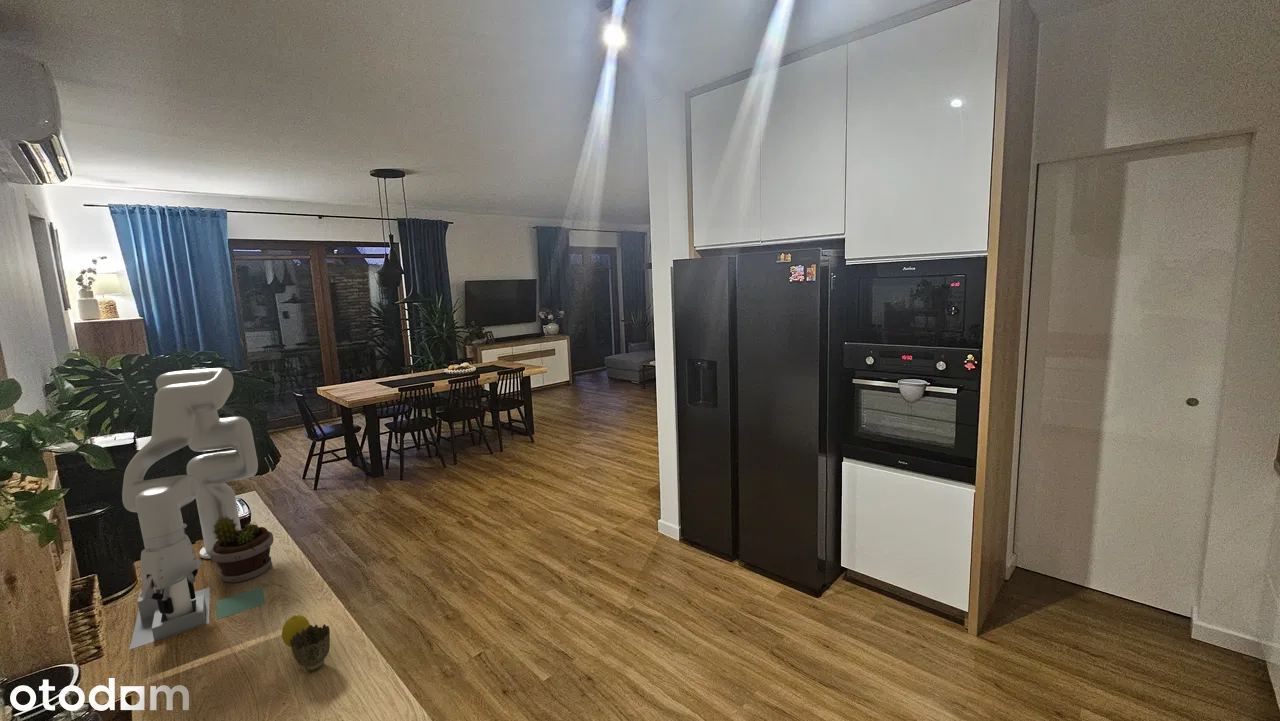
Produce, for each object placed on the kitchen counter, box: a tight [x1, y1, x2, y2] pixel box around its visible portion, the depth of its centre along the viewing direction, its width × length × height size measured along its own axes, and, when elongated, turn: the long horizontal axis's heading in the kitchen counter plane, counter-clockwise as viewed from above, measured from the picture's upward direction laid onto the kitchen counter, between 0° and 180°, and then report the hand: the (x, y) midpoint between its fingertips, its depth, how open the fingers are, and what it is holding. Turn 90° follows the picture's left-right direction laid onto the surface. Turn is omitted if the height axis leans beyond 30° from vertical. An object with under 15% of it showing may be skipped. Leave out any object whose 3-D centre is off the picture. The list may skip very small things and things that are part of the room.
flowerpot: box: [210, 515, 274, 583], centre depth 154 cm, size 14×15×20 cm
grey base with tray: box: [128, 586, 211, 650], centre depth 136 cm, size 20×14×6 cm
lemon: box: [281, 614, 311, 648], centre depth 124 cm, size 6×6×8 cm
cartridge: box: [161, 575, 193, 620], centre depth 133 cm, size 5×5×12 cm
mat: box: [216, 586, 266, 620], centre depth 141 cm, size 10×10×1 cm
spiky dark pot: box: [290, 624, 331, 673], centre depth 117 cm, size 8×7×8 cm
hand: (178, 604), depth 133 cm, fingers closed on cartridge, 5 cm apart
